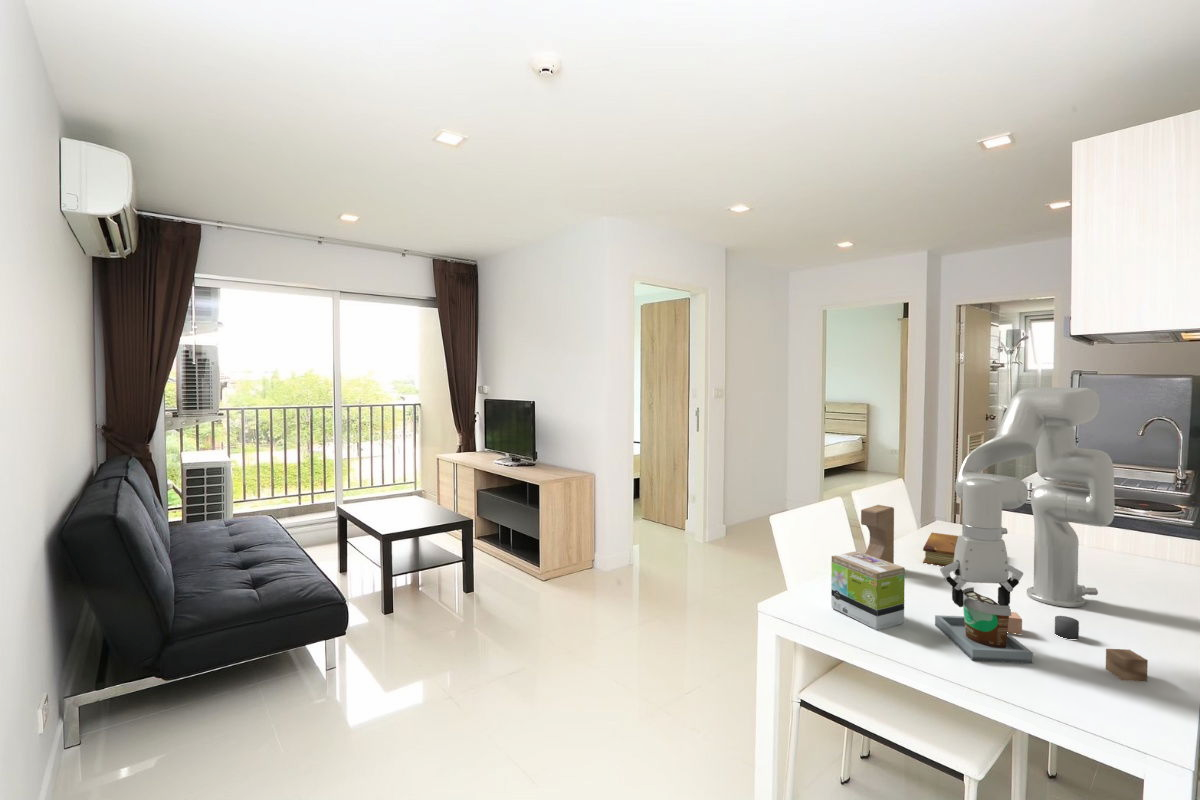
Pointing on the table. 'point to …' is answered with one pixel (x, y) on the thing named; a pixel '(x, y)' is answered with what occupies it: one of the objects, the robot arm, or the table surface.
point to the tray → (979, 652)
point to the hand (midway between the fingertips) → (980, 605)
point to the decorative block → (880, 531)
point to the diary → (940, 549)
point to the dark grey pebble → (1066, 627)
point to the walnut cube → (1126, 665)
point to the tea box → (868, 589)
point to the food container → (985, 619)
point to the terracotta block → (1015, 623)
